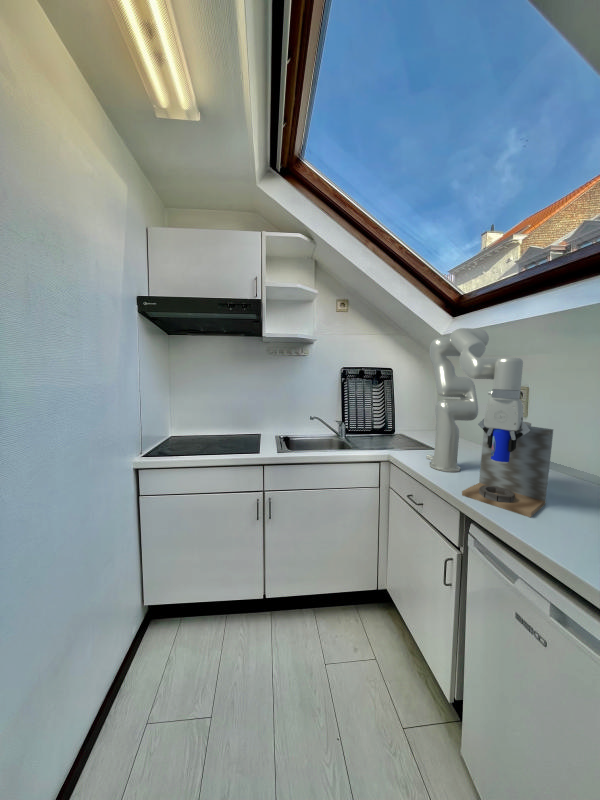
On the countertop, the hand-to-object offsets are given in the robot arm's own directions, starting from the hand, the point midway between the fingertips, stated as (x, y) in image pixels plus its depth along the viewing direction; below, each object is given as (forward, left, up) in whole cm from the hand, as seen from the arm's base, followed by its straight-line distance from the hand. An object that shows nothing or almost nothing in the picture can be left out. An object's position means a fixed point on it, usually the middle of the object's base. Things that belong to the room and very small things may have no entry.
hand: (500, 448), depth 101 cm
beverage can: (0, 0, -5) cm, 5 cm away
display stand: (+1, +3, -18) cm, 18 cm away
